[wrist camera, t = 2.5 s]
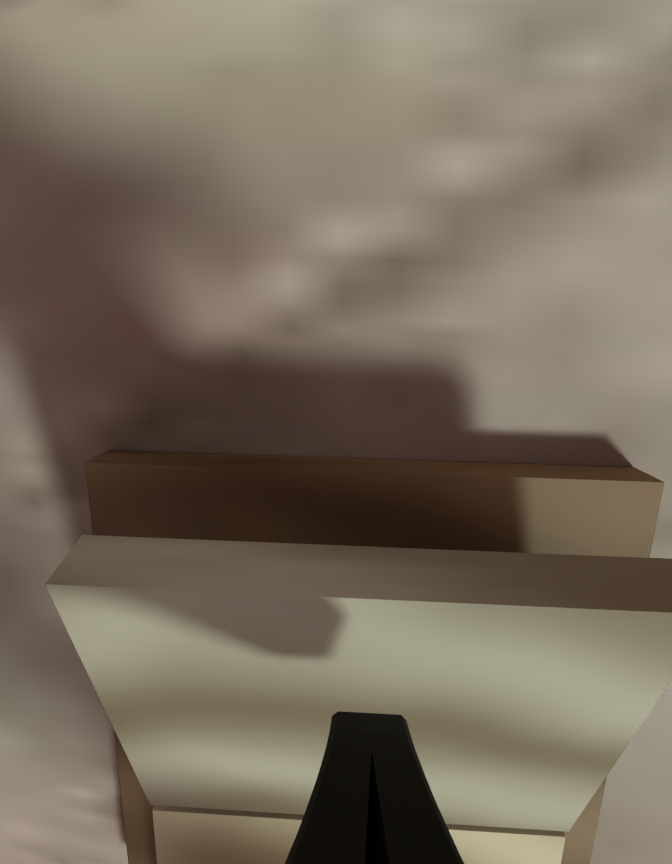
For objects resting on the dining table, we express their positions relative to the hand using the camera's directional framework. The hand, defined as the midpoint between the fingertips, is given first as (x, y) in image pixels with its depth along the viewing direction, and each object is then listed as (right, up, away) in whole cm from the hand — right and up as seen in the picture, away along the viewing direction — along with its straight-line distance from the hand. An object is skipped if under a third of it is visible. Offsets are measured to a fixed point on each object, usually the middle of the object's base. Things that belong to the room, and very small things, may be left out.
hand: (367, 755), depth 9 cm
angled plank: (0, -1, +5) cm, 5 cm away
